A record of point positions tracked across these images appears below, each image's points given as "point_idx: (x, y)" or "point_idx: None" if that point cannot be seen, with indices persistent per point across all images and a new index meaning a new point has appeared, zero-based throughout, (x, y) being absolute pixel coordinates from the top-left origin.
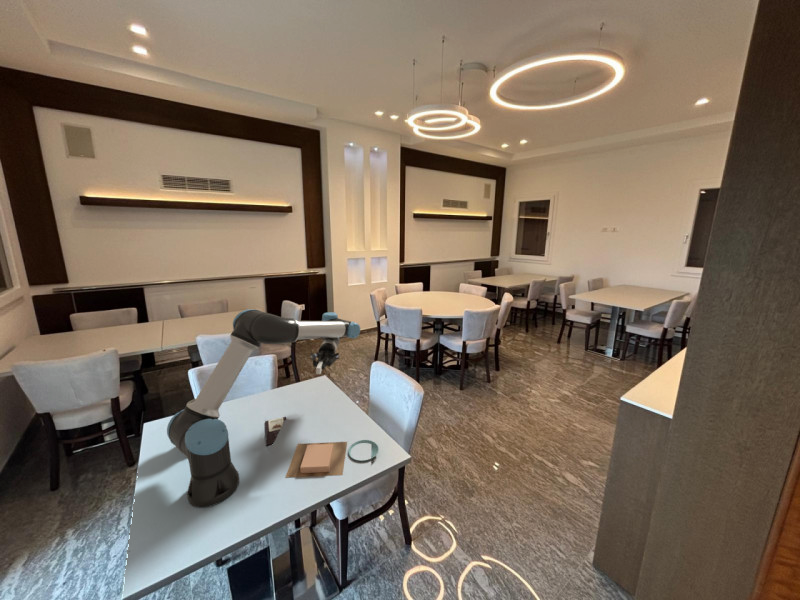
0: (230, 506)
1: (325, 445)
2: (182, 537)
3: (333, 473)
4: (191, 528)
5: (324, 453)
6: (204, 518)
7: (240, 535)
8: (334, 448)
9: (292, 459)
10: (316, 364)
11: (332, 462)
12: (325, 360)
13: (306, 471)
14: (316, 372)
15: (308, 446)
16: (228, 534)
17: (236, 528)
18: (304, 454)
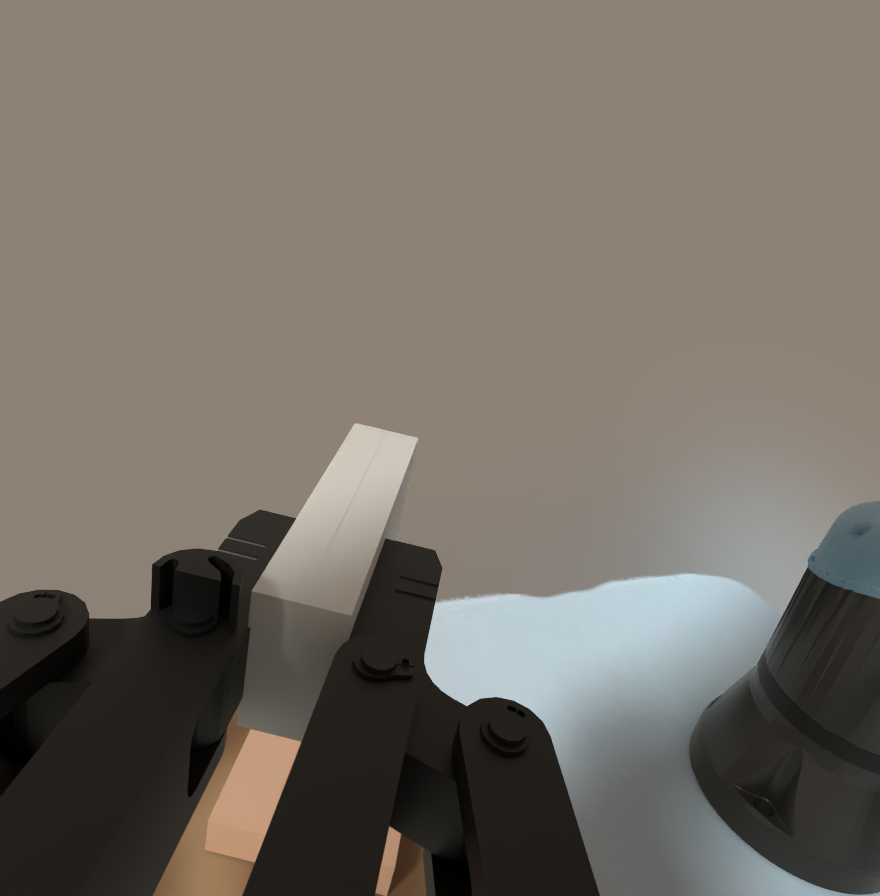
0: (660, 691)
1: (268, 819)
2: (733, 641)
3: None
4: (731, 658)
5: (288, 749)
6: (718, 676)
7: (567, 597)
8: (195, 860)
9: None
10: (418, 608)
11: (243, 743)
12: (167, 568)
13: None
14: (402, 508)
15: (388, 847)
16: (604, 610)
17: (591, 617)
18: (408, 863)
